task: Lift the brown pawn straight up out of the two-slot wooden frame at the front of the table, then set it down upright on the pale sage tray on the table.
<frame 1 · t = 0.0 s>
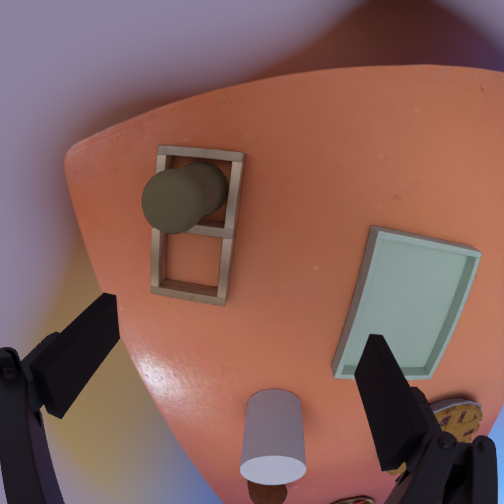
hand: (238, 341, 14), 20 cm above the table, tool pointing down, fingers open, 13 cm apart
two-slot wooden frame: (196, 223, 33), on the table
potato: (268, 476, 48), on the table
tray: (405, 309, 35), on the table
brown pawn: (200, 188, 32), resting in two-slot wooden frame
pie: (428, 430, 43), on the table
cup: (274, 406, 41), on the table
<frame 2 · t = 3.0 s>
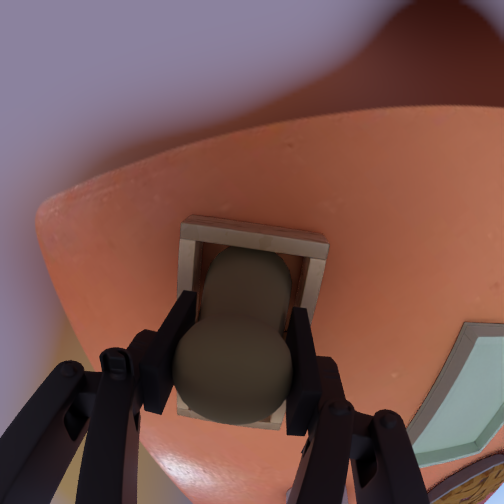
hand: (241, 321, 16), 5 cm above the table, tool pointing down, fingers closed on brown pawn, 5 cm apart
two-slot wooden frame: (241, 331, 22), on the table
tray: (472, 397, 24), on the table
brown pawn: (248, 283, 21), resting in two-slot wooden frame, touching gripper
pie: (461, 483, 32), on the table
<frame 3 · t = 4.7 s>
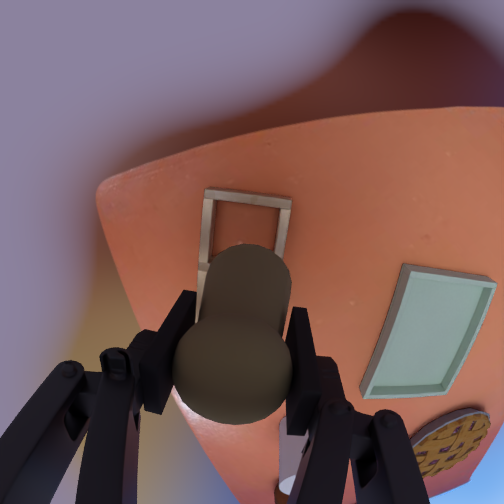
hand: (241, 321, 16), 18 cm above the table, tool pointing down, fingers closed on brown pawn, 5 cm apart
two-slot wooden frame: (240, 264, 34), on the table
potato: (292, 485, 49), on the table
tray: (427, 335, 36), on the table
brown pawn: (248, 284, 21), point 13 cm above the table, touching gripper
pie: (441, 437, 44), on the table
cup: (304, 424, 42), on the table
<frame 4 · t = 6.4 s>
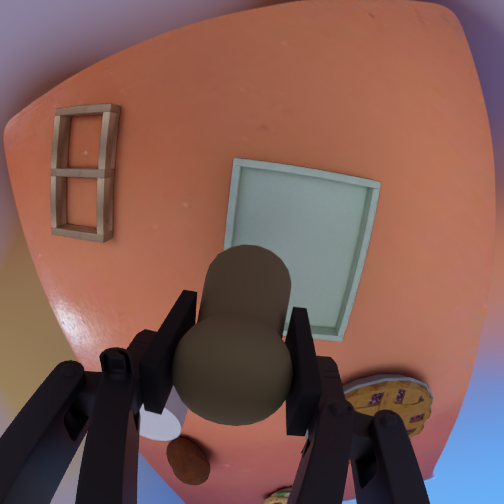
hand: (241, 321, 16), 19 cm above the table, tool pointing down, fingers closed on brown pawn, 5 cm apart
toy food set: (295, 494, 53), on the table
two-slot wooden frame: (86, 171, 33), on the table
potato: (193, 448, 48), on the table
tray: (293, 252, 35), on the table
brown pawn: (248, 284, 21), point 14 cm above the table, touching gripper
pie: (367, 412, 43), on the table
cup: (174, 361, 41), on the table
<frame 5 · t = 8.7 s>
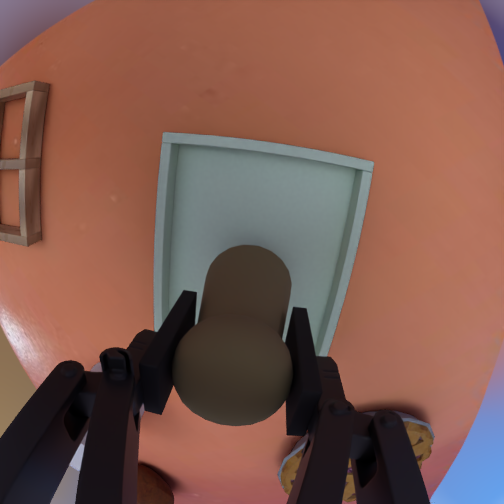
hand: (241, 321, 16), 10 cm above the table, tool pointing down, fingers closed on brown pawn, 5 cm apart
two-slot wooden frame: (15, 162, 24), on the table
potato: (157, 476, 39), on the table
tray: (252, 261, 26), on the table
brown pawn: (248, 285, 21), point 5 cm above the table, touching gripper
pie: (354, 450, 34), on the table
cup: (119, 386, 32), on the table
when the fingers open (6 cm above the table, at t = 10.1 s): brown pawn stays where it is, resting on tray.
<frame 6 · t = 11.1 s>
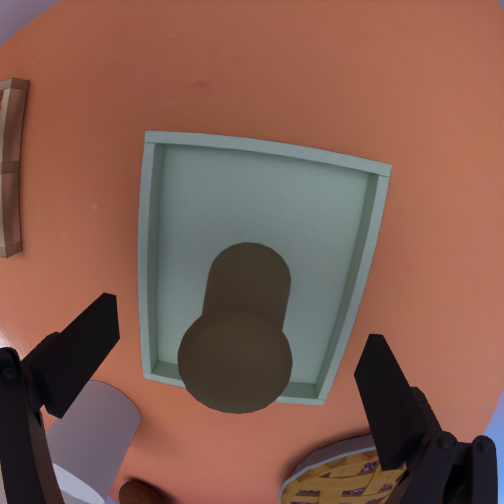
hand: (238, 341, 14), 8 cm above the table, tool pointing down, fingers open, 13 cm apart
potato: (152, 491, 36), on the table
tray: (250, 278, 22), on the table
brown pawn: (249, 281, 22), resting on tray
pie: (358, 469, 30), on the table
cup: (109, 405, 29), on the table
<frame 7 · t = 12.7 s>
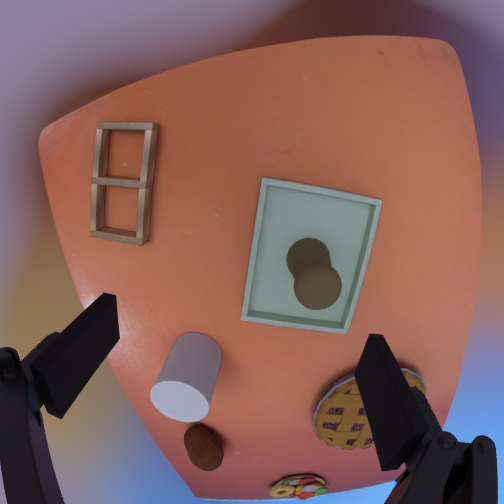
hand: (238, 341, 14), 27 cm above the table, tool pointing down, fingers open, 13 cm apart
toy food set: (299, 482, 59), on the table
two-slot wooden frame: (125, 180, 40), on the table
potato: (207, 436, 54), on the table
tray: (308, 257, 41), on the table
brown pawn: (308, 258, 41), resting on tray
pie: (367, 401, 49), on the table
cup: (197, 352, 47), on the table
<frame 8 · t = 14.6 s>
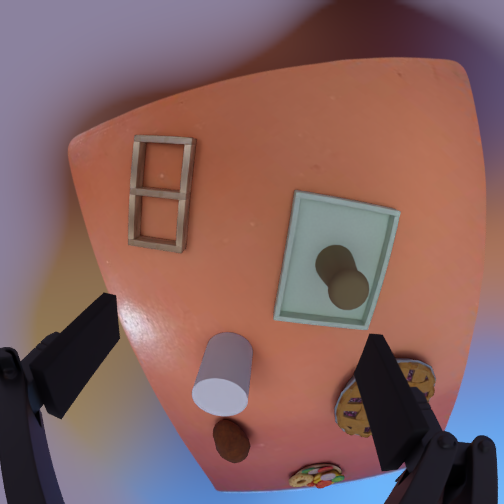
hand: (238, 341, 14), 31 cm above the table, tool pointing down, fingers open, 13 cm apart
toy food set: (317, 472, 63), on the table
two-slot wooden frame: (162, 191, 43), on the table
potato: (234, 430, 58), on the table
tray: (334, 262, 45), on the table
brown pawn: (334, 263, 45), resting on tray
pie: (382, 391, 53), on the table
cup: (229, 350, 51), on the table
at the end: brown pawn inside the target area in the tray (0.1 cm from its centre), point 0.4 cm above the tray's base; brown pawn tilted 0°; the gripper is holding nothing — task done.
